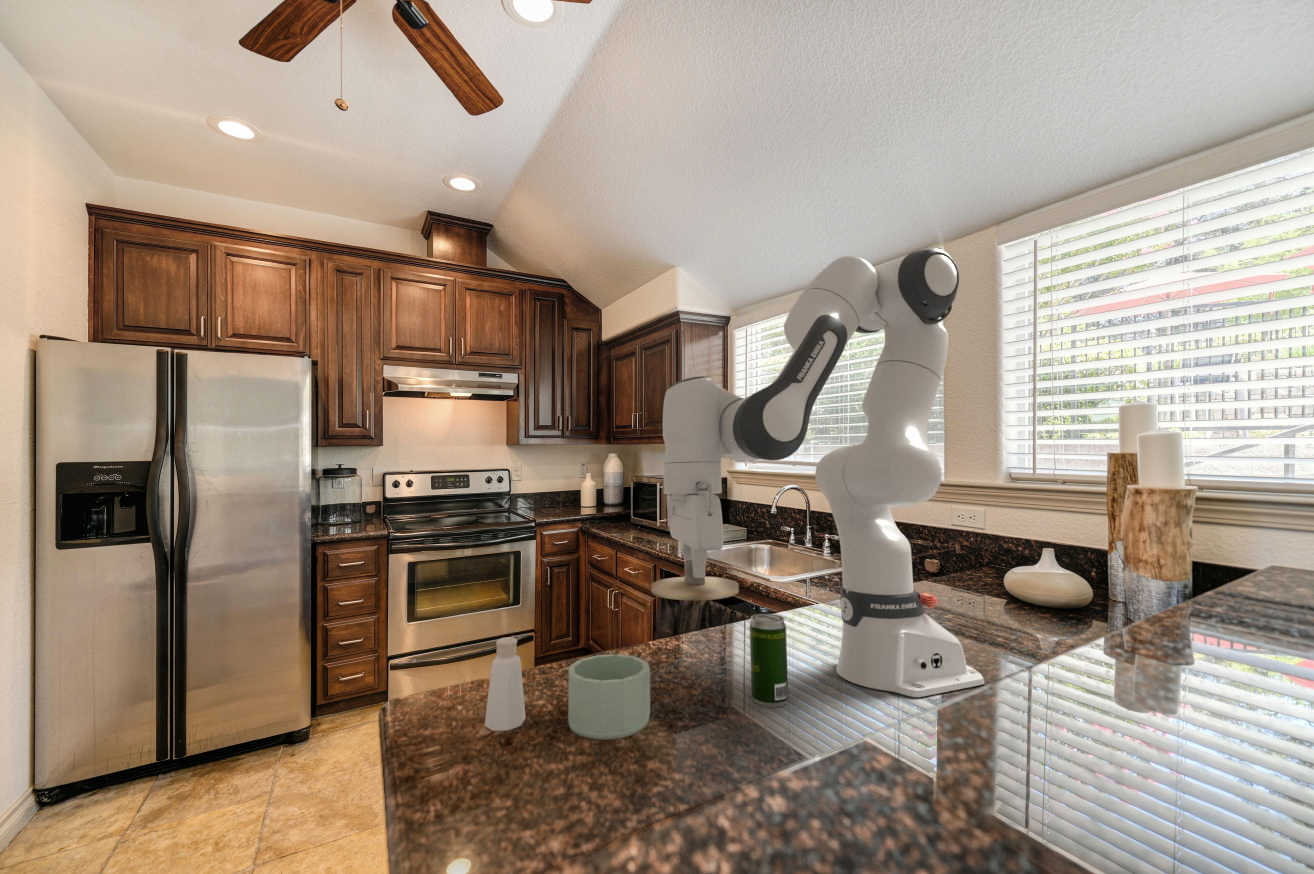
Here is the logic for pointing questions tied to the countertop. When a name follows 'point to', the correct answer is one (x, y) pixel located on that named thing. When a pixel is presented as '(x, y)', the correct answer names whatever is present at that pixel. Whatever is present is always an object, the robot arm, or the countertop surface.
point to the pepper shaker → (505, 689)
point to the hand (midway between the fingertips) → (694, 574)
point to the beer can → (768, 660)
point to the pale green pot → (609, 696)
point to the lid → (694, 587)
